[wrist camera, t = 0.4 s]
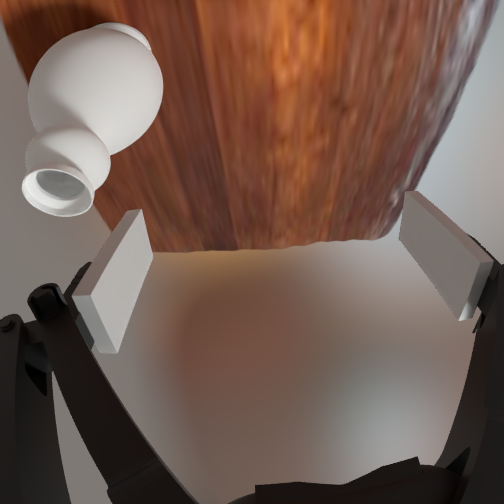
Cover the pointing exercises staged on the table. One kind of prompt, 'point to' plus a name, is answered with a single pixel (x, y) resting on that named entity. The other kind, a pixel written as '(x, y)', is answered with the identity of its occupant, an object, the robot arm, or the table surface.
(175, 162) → the table surface
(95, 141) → the decorative vase
